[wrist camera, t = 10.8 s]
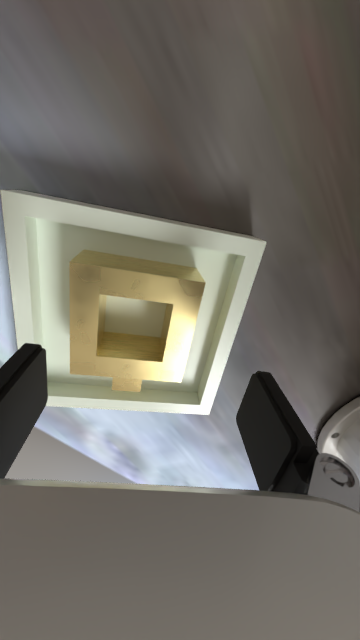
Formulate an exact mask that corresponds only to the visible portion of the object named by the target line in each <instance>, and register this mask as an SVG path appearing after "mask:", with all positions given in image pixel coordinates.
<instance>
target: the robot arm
mask: <svg viewBox="0 0 360 640" xmlns="http://www.w3.org/2000/svg"><path fill="white" fill-rule="evenodd" d="M47 400H48V387H47V363H46V349H44V348H42V346H41V345H40V344H32V343H25V344H23V345H22V346H21V347H20V348H19V349H18V351H17V352H16V353H15V354H14V355H13V356H12V357H11V358H10V359H9V360H8V361H7V362H6V363H5V364H4V365H3V366H2V367H1V368H0V640H360V397H358V398H356V399H354V400H352V401H351V402H349V403H348V404H346V405H345V406H343V407H342V408H341V409H340V410H338V411H337V412H336V413H335V414H334V415H333V416H332V417H331V418H330V419H329V420H328V421H327V423H326V424H325V426H324V427H323V428H322V430H321V433H320V435H319V437H318V443H317V446H316V444H315V442H314V441H313V439H312V438H311V436H310V435H309V433H308V431H307V430H306V428H305V427H304V425H303V424H302V422H301V420H300V419H299V417H298V416H297V414H296V412H295V411H294V409H293V408H292V406H291V405H290V403H289V401H288V400H287V398H286V397H285V395H284V394H283V392H282V390H281V389H280V387H279V386H278V384H277V382H276V381H275V379H274V378H273V376H272V375H271V373H269V372H261V371H257V372H256V374H253V375H252V376H251V379H250V382H249V384H248V387H247V389H246V392H245V395H244V397H243V400H242V402H241V405H240V408H239V410H238V413H237V416H236V422H237V425H238V428H239V431H240V434H241V437H242V440H243V443H244V446H245V449H246V452H247V455H248V458H249V461H250V464H251V467H252V470H253V472H254V475H255V478H256V481H257V484H258V487H259V490H260V491H258V490H241V489H224V488H206V487H188V486H168V485H148V484H128V483H107V482H84V481H63V480H37V479H4V478H5V476H6V474H7V472H8V471H9V469H10V467H11V465H12V463H13V462H14V460H15V458H16V456H17V455H18V453H19V451H20V449H21V448H22V446H23V444H24V442H25V441H26V439H27V437H28V435H29V434H30V432H31V430H32V428H33V427H34V425H35V423H36V421H37V420H38V418H39V416H40V414H41V413H42V411H43V409H44V407H45V406H46V403H47ZM316 448H318V451H317V449H316Z"/></svg>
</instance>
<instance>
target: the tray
mask: <svg viewBox="0 0 360 640" xmlns="http://www.w3.org/2000/svg"><path fill="white" fill-rule="evenodd" d="M0 192H1V201H2V210H3V220H4V229H5V238H6V247H7V256H8V265H9V274H10V283H11V293H12V302H13V311H14V320H15V329H16V338H17V347H18V349H19V348H20V347H21V346H22V345H23V344H25V343H32V344H40V345H41V346H42V348H44V349H46V363H47V387H48V400H47V403H46V406H56V407H74V408H93V409H111V410H130V411H148V412H167V413H185V414H204V415H209V413H210V410H211V407H212V404H213V401H214V398H215V395H216V392H217V389H218V386H219V383H220V380H221V377H222V374H223V371H224V368H225V365H226V362H227V359H228V356H229V353H230V350H231V347H232V344H233V341H234V338H235V336H236V333H237V330H238V327H239V324H240V321H241V318H242V315H243V312H244V309H245V306H246V303H247V300H248V297H249V294H250V291H251V288H252V285H253V282H254V279H255V276H256V273H257V270H258V267H259V264H260V261H261V258H262V255H263V252H264V249H265V246H266V243H267V242H265V241H263V240H261V239H258V238H256V237H254V236H249V235H244V234H239V233H234V232H229V231H224V230H219V229H214V228H209V227H204V226H199V225H194V224H189V223H184V222H179V221H174V220H169V219H164V218H159V217H154V216H149V215H144V214H139V213H134V212H129V211H124V210H119V209H114V208H109V207H104V206H99V205H94V204H88V203H83V202H78V201H73V200H68V199H63V198H58V197H53V196H48V195H43V194H38V193H33V192H28V191H23V190H0ZM84 249H85V250H91V251H97V252H103V253H109V254H115V255H121V256H127V257H133V258H139V259H145V260H151V261H158V262H164V263H170V264H176V265H182V266H188V267H194V268H197V270H198V271H199V273H200V274H201V276H202V278H203V279H204V281H205V282H206V284H205V288H204V292H203V296H202V300H201V304H200V308H199V312H198V316H197V320H196V324H195V328H194V332H193V336H192V341H191V345H190V349H189V353H188V357H187V361H186V365H185V369H184V373H183V377H182V381H181V382H168V381H154V380H142V384H141V390H140V392H131V391H116V390H112V380H113V377H102V376H89V375H75V374H70V284H69V262H70V261H71V260H72V259H73V258H74V257H75V256H77V255H78V254H79V253H80V252H81V251H82V250H84ZM166 305H167V303H161V302H153V301H146V300H139V299H131V298H124V297H116V296H109V295H107V299H106V314H105V329H104V331H105V332H114V333H123V334H132V335H142V336H151V337H160V338H161V332H162V327H163V321H164V316H165V310H166Z"/></svg>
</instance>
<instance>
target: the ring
mask: <svg viewBox="0 0 360 640" xmlns="http://www.w3.org/2000/svg"><path fill="white" fill-rule="evenodd" d="M69 284H70V374H75V375H89V376H102V377H113V380H112V390H116V391H131V392H140V390H141V384H142V380H154V381H168V382H181V381H182V377H183V373H184V369H185V365H186V361H187V357H188V353H189V349H190V345H191V341H192V336H193V332H194V328H195V324H196V320H197V316H198V312H199V308H200V304H201V300H202V296H203V292H204V288H205V284H206V282H205V281H204V279H203V278H202V276H201V274H200V273H199V271H198V270H197V268H194V267H188V266H182V265H176V264H170V263H164V262H158V261H151V260H145V259H139V258H133V257H127V256H121V255H115V254H109V253H103V252H97V251H91V250H85V249H84V250H82V251H81V252H80V253H79V254H78V255H77V256H75V257H74V258H73V259H72V260H71V261H70V262H69ZM107 295H109V296H116V297H124V298H131V299H139V300H146V301H153V302H161V303H167V305H166V310H165V316H164V321H163V327H162V332H161V338H160V337H151V336H142V335H132V334H123V333H114V332H105V331H104V329H105V314H106V299H107Z"/></svg>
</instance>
